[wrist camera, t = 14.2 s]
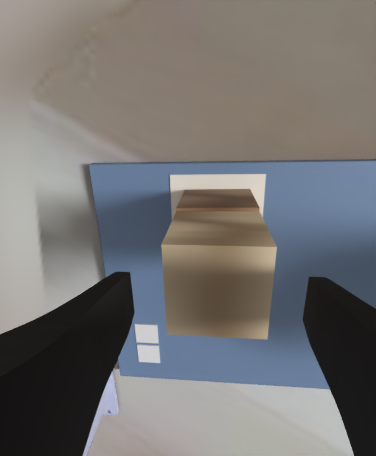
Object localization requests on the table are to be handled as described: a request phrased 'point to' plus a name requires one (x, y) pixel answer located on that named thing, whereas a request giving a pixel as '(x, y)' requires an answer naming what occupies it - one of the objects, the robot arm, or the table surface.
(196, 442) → the table surface
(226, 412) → the table surface
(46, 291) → the table surface
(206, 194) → the walnut block
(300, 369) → the blueprint board
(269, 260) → the maple block
